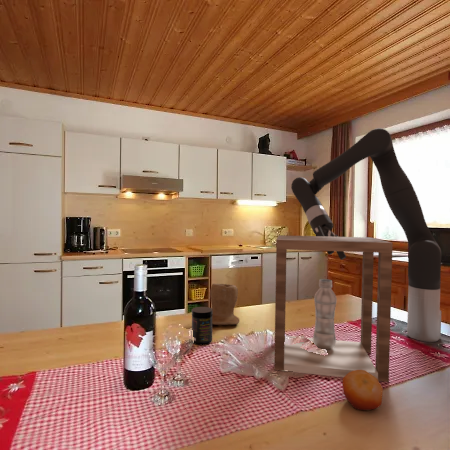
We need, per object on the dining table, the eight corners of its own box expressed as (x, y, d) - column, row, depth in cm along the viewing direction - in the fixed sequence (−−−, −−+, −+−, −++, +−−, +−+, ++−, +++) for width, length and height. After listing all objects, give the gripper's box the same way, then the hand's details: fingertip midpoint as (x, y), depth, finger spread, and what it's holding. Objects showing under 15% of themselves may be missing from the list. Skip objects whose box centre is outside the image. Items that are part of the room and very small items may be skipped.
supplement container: (216, 342, 103) (217, 310, 103) (200, 347, 99) (200, 314, 99) (203, 336, 108) (203, 305, 108) (187, 341, 104) (187, 309, 104)
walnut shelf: (277, 341, 105) (278, 235, 104) (369, 349, 99) (371, 237, 98) (274, 370, 85) (276, 239, 84) (388, 382, 80) (392, 242, 79)
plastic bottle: (332, 343, 98) (334, 278, 98) (338, 353, 91) (339, 283, 91) (311, 342, 99) (312, 277, 98) (315, 351, 92) (316, 282, 92)
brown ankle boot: (238, 318, 128) (239, 280, 128) (239, 328, 116) (240, 287, 116) (200, 317, 128) (201, 280, 128) (197, 327, 116) (198, 286, 116)
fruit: (366, 384, 76) (376, 363, 71) (381, 419, 69) (392, 399, 65) (332, 384, 75) (340, 363, 71) (344, 419, 69) (353, 399, 64)
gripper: (317, 208, 115) (336, 245, 106) (336, 219, 124) (356, 254, 115) (300, 220, 119) (318, 257, 110) (320, 230, 128) (338, 265, 119)
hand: (337, 256), depth 112 cm, fingers open, 8 cm apart
